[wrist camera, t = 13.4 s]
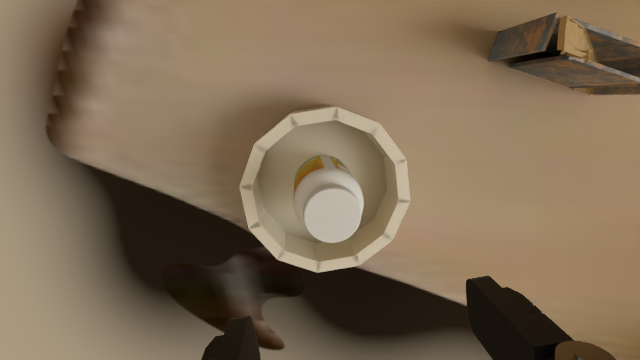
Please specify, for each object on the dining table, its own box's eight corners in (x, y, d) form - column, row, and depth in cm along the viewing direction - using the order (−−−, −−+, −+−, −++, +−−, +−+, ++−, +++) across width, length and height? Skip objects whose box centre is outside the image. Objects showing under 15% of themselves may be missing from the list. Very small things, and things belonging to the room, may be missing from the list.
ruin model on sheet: (483, 65, 32) (559, 52, 23) (495, 32, 32) (579, 4, 22) (586, 99, 34) (699, 100, 24) (600, 68, 33) (721, 56, 24)
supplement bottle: (292, 207, 33) (290, 252, 23) (295, 152, 32) (294, 175, 22) (348, 210, 33) (368, 254, 24) (352, 155, 32) (375, 179, 23)
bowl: (236, 120, 32) (225, 124, 27) (385, 96, 32) (400, 96, 27) (265, 256, 35) (260, 282, 30) (399, 234, 35) (415, 255, 30)
